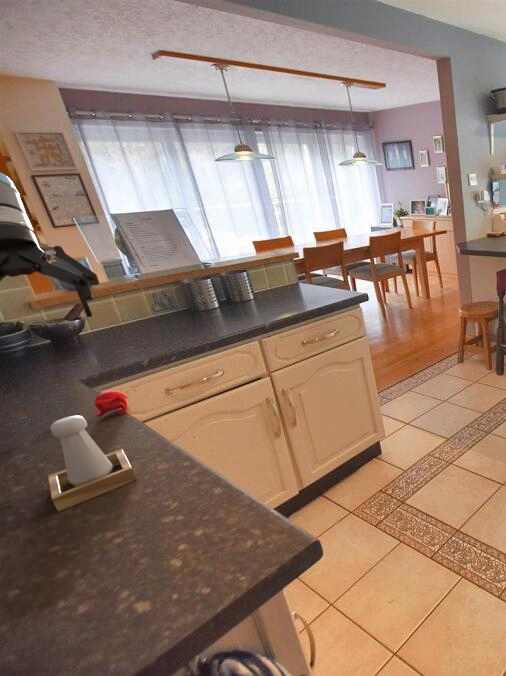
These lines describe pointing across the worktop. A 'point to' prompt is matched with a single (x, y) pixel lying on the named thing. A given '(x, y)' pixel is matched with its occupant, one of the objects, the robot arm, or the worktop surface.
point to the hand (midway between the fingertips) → (38, 321)
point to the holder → (90, 483)
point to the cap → (111, 402)
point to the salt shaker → (80, 451)
